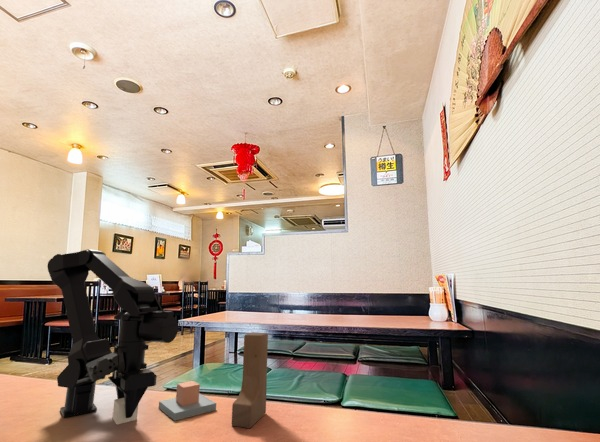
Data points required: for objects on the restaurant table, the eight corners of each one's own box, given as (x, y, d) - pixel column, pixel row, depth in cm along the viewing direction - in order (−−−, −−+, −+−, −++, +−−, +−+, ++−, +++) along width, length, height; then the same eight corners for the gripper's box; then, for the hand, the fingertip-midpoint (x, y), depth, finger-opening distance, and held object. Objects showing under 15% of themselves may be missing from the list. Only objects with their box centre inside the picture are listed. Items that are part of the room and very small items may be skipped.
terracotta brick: (175, 401, 79) (177, 383, 80) (191, 397, 82) (192, 380, 83) (182, 406, 76) (183, 387, 77) (198, 402, 79) (199, 384, 80)
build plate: (158, 407, 79) (159, 401, 79) (197, 398, 86) (198, 392, 86) (174, 420, 72) (174, 413, 72) (215, 409, 78) (216, 403, 79)
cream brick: (112, 419, 73) (114, 399, 73) (131, 414, 75) (133, 395, 76) (116, 424, 70) (118, 404, 70) (136, 420, 72) (138, 400, 73)
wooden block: (250, 429, 68) (253, 338, 71) (230, 426, 69) (234, 337, 73) (266, 413, 76) (268, 332, 80) (248, 411, 78) (251, 332, 81)
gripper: (84, 338, 77) (75, 410, 74) (101, 350, 64) (91, 439, 61) (135, 334, 85) (128, 399, 82) (160, 344, 71) (153, 423, 68)
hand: (125, 413), depth 73 cm, fingers open, 5 cm apart
